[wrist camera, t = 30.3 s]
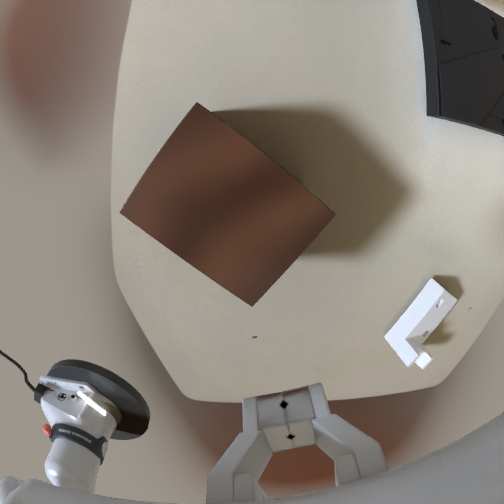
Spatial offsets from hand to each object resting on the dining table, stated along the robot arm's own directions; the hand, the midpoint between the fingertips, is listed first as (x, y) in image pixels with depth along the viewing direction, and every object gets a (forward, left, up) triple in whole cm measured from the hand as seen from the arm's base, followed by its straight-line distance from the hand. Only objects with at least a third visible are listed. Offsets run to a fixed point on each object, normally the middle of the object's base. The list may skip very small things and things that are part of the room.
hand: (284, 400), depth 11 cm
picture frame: (+34, +32, -31) cm, 57 cm away
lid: (-3, +2, -20) cm, 20 cm away
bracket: (+32, -14, -31) cm, 47 cm away
